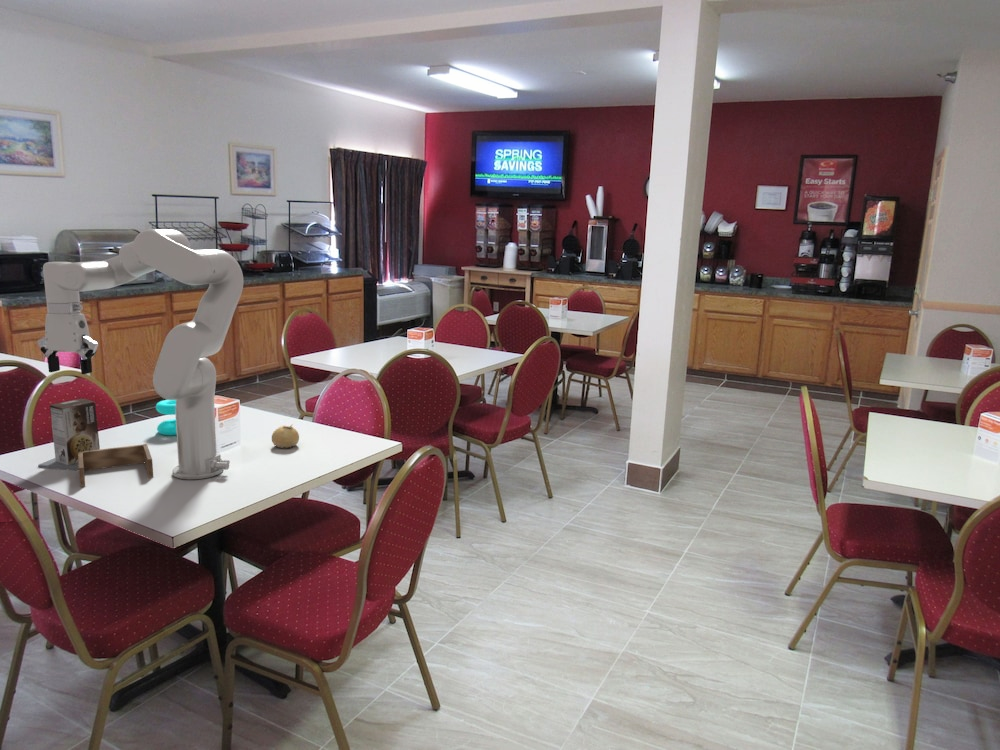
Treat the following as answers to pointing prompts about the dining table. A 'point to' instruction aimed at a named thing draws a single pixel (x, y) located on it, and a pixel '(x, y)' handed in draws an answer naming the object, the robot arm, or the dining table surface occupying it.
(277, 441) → the onion
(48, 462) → the charcoal mat
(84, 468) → the walnut cubby
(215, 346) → the robot arm
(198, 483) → the dining table surface
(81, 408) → the coffee box
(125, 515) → the dining table surface
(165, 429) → the donuts
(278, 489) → the dining table surface
